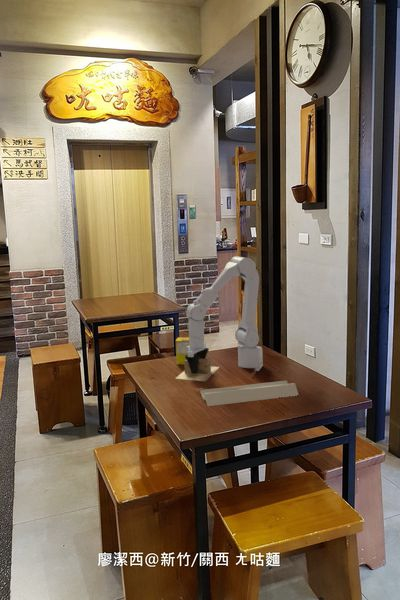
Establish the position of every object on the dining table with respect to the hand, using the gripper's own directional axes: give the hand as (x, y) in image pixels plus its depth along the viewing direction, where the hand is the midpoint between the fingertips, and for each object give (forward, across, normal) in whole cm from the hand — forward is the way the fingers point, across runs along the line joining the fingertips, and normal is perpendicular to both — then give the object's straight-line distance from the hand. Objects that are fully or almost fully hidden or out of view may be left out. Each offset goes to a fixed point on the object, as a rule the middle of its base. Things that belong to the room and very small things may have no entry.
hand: (197, 370), depth 188 cm
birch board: (+2, 0, 0) cm, 2 cm away
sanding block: (+1, 0, 0) cm, 1 cm away
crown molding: (+3, +15, +24) cm, 28 cm away
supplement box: (+2, -12, -10) cm, 15 cm away
